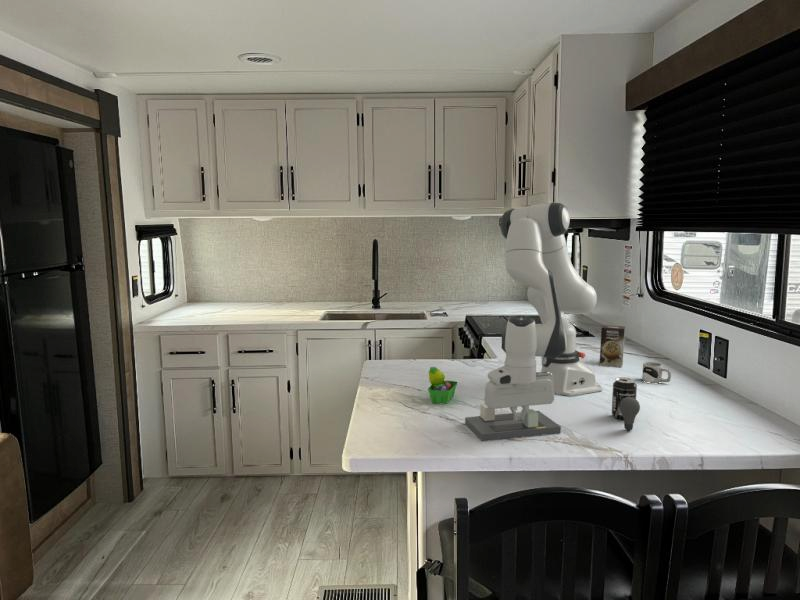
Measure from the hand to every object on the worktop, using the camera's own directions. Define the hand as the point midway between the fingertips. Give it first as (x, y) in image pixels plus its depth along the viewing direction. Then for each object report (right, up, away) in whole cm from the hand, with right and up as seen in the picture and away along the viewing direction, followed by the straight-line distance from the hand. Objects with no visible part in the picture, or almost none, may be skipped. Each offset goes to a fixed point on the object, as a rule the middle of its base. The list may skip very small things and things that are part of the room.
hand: (519, 420), depth 170 cm
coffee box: (+53, +8, +74) cm, 91 cm away
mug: (+61, +4, +49) cm, 78 cm away
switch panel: (-1, -3, +4) cm, 5 cm away
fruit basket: (-20, +1, +31) cm, 37 cm away
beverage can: (+35, -2, +13) cm, 37 cm away
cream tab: (-8, -1, +6) cm, 10 cm away
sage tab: (+3, -1, +1) cm, 4 cm away
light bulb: (+32, -4, +2) cm, 32 cm away
